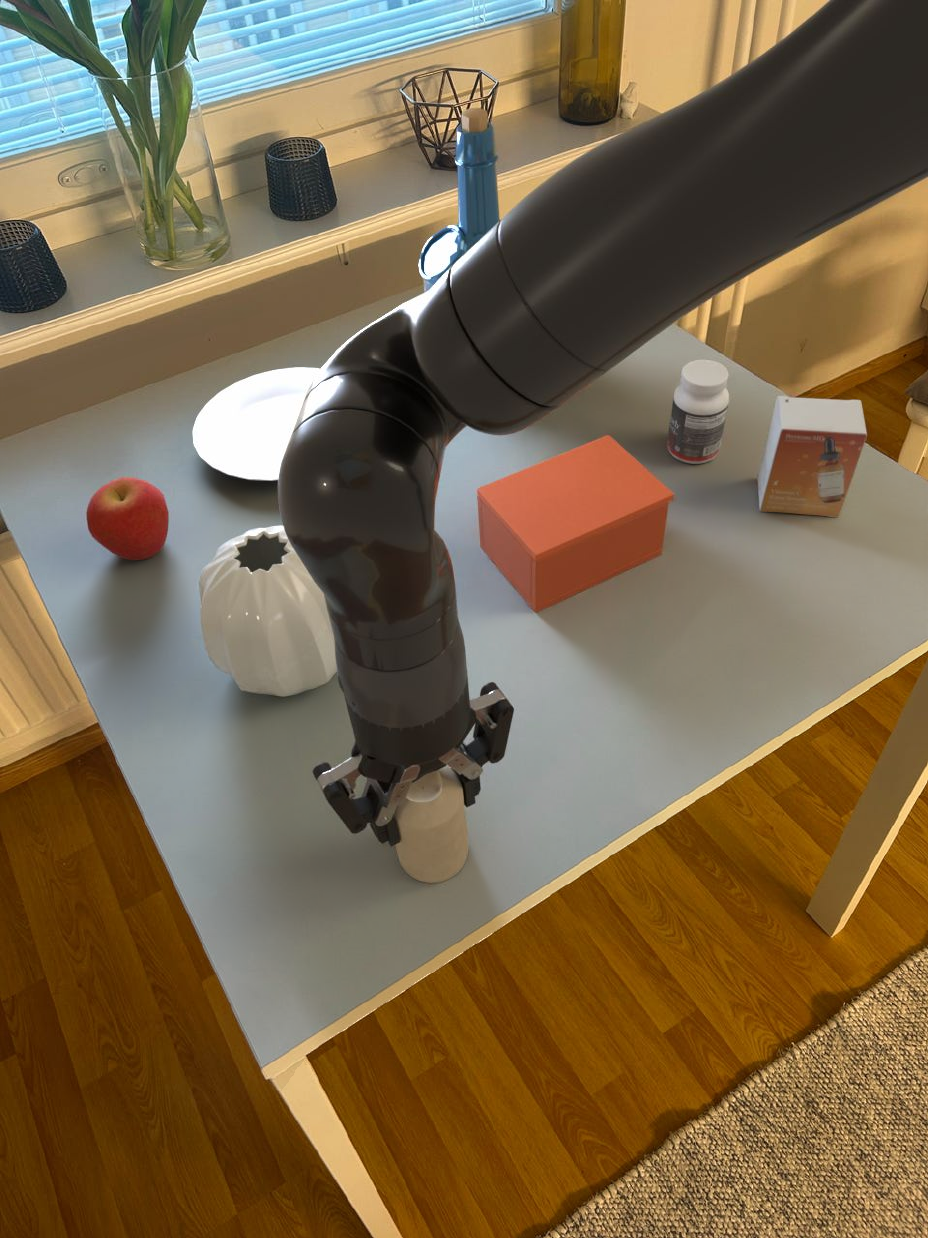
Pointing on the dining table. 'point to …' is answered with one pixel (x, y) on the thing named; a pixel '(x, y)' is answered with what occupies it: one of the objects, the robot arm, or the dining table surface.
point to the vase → (266, 616)
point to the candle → (433, 827)
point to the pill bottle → (698, 412)
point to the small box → (810, 455)
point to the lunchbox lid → (573, 496)
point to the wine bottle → (466, 197)
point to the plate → (252, 423)
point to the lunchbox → (571, 556)
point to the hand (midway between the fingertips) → (427, 814)
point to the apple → (129, 518)
